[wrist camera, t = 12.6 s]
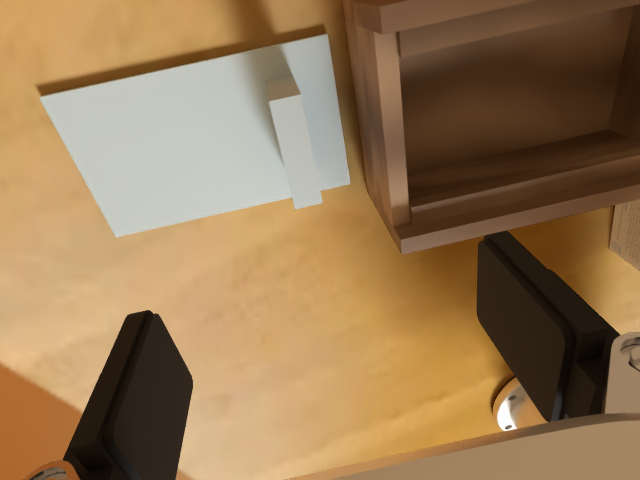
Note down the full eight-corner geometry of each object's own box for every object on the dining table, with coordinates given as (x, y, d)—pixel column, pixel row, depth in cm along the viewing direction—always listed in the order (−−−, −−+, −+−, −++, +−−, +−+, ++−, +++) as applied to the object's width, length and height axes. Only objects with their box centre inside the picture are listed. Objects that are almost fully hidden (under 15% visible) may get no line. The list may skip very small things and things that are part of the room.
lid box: (610, 136, 29) (716, 181, 22) (367, 192, 29) (401, 254, 22) (655, -70, 23) (824, -93, 16) (342, 0, 22) (380, 6, 16)
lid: (347, 178, 29) (367, 219, 24) (119, 229, 28) (91, 282, 23) (325, 32, 23) (344, 45, 18) (46, 93, 23) (-11, 123, 18)
